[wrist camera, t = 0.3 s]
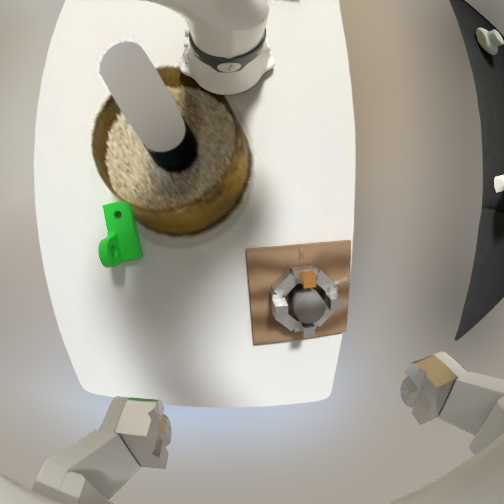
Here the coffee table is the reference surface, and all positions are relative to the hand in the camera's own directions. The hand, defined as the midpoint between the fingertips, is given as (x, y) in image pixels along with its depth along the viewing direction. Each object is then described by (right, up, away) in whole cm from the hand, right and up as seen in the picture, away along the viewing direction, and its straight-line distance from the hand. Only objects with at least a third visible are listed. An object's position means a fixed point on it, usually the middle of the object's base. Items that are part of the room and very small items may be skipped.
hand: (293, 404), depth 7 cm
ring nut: (+9, -5, +49) cm, 50 cm away
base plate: (+9, -4, +51) cm, 52 cm away
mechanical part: (-28, +9, +45) cm, 53 cm away
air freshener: (+80, +79, +36) cm, 118 cm away
